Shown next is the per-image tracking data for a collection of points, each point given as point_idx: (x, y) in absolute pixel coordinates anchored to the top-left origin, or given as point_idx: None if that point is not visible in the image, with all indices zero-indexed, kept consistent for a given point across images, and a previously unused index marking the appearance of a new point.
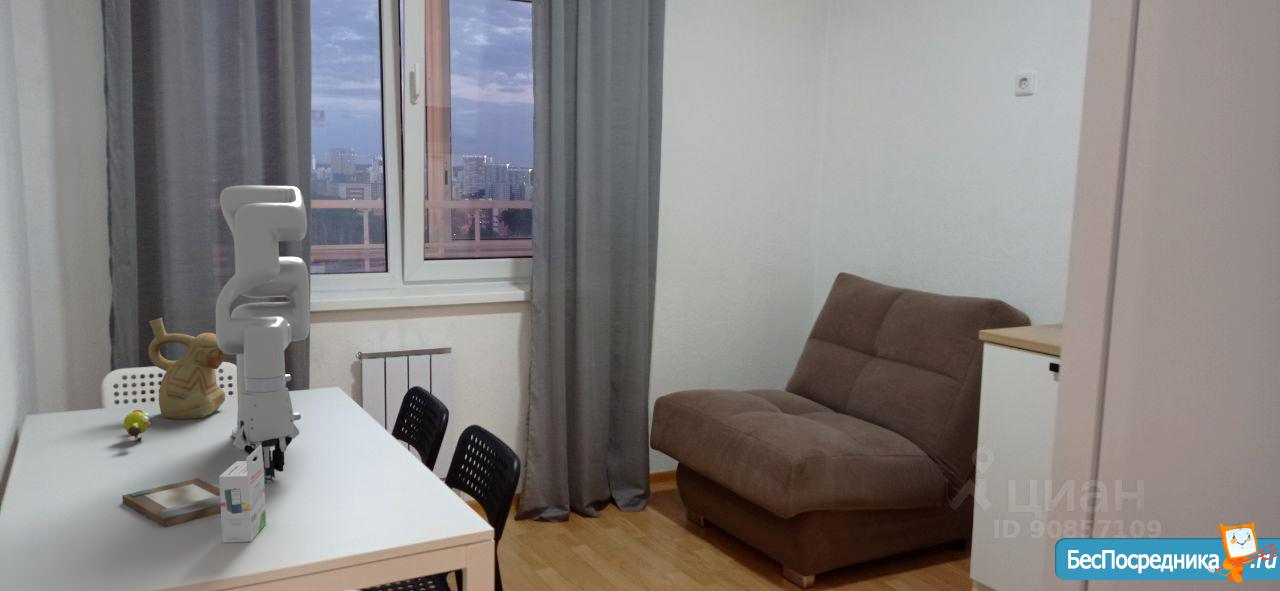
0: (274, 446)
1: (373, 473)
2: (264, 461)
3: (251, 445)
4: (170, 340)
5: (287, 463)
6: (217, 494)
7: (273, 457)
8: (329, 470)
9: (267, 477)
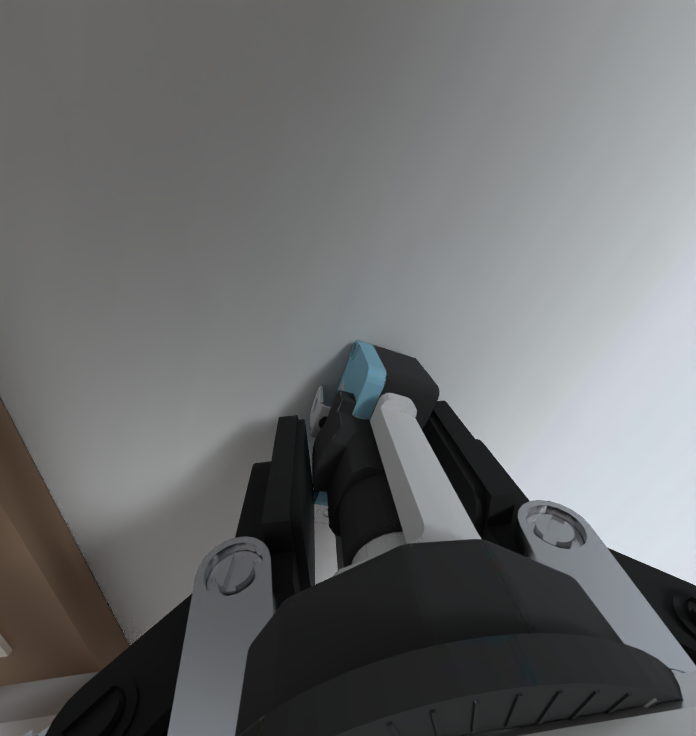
0: (524, 542)
1: (683, 574)
2: (337, 546)
3: (212, 701)
4: None
5: (635, 160)
6: (5, 611)
7: (450, 475)
8: (639, 455)
9: (321, 515)
